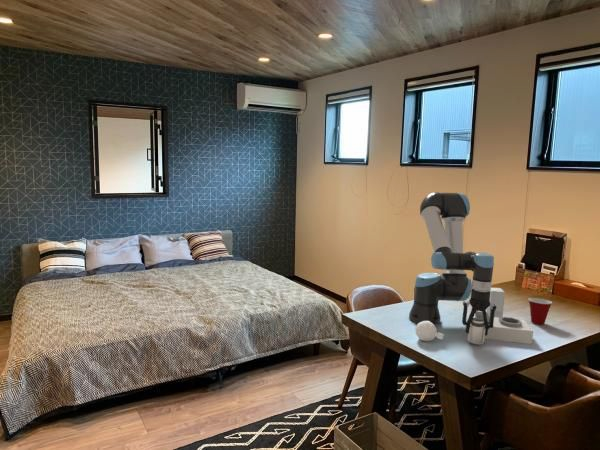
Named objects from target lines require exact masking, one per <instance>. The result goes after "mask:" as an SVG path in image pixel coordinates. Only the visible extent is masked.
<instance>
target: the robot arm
mask: <svg viewBox="0 0 600 450" xmlns="http://www.w3.org/2000/svg"><path fill="white" fill-rule="evenodd" d="M470 210H471V204H470V201H469V198H468V196H467V195H466V194H464V193H460V192H459V193H458V192H438V191H437V192H431V193H429V194H427V195H426V197H424V198H423V200H422V202H421V203H420V207H419V213H420V217H421V218H422V219H423V220H424V222H425V226H426V230H427V233H428V236H429V237H428V238H429V239H430V243H431V246H432V249H433V252H432V254H431V257H430V264H431V266H432V268H433V269H435V270H442V271H443V272H442V273H441V274H440V273H437V272H423V273H420V274H418V275H416V277H415V282H414V294H413V295H414V298H413V303H412V306H411V309H410V312H409V314H408V319H409V320H410V321H412V322H413V323H416V324H418V323H420V322H422V321H430V322H431V323H433V324H434V326H435V325H439V324H440V323H441V314H440V309H439V301H451V302H452V301H453V302H462V305H463V311H462V320H461V323H462V325H463V326H465V333H466V334H467V341H468V343H469V342H470V338H471V329H472V327H471V322H472V320H473V318H475V313H476V311H478V312H482V314H483V320H484V326H485V327H483V335H482V343H481V344H485V339H484V338H485V336H487V334H488V329H489V328H493V323H494V313H495V310H496V308H497V307H496V305H495V304H491V303H490V290H491V288H492V280H493V272H494V265H495V262H494V260H495V257H494V255H492V254H491V253H487V252H478V253H477V252H475V251H467V252H464V239H463V238H464V236H463V235H464V234H463V227H464V226H463V222H464V221H466V218H467V217H468V216H469V214H470ZM443 222H444V224H443ZM466 271H471V272H473V273H472V280H471V278H470V277H468V275H467V274H468V273H467V272H466ZM441 275H442V276H441ZM469 297H470V299H469ZM468 299H469V301H467V300H468ZM469 306H471V310H470V313H469V314H468V308H469ZM489 306H490V309H491V310H490V319H489V324H488V322H487V316H486V312H487V308H488V307H489ZM468 315H469V316H468ZM467 316H468V318H467ZM470 343H471V342H470Z"/></svg>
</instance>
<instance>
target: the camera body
mask: <svg viewBox="0 0 600 450" xmlns="http://www.w3.org/2000/svg"><path fill="white" fill-rule="evenodd" d="M486 316H487V322H488V324H489V319H490V317H489V315H488V314H487V311H486ZM474 318H480V319H483V314H482V311H476V313H475V315H474ZM483 327H485V326H483ZM533 336H534V329H532V327H531V326H530V325H529V324H528V323H527V321H526V320H523V319H518V318H514V317H508V316H503V317H501V318H497V317H494V323H493V328H489V329H488V334H487V336H485V338H484V340H494V341H501V342H502V341H503V342H510V343H511V342H512V343H519V344H521V343H522V344H529V345H530V344H531V345H532V343H533Z"/></svg>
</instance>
